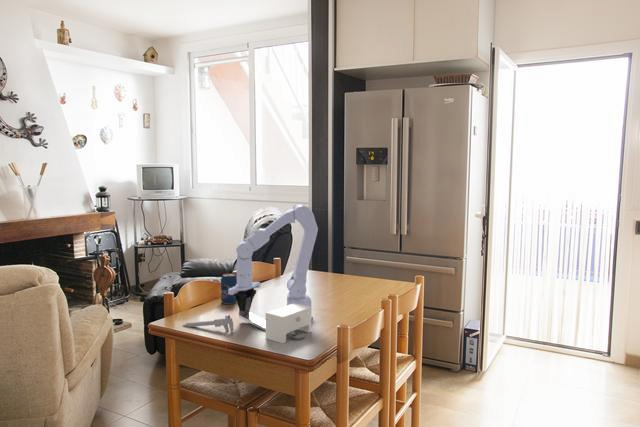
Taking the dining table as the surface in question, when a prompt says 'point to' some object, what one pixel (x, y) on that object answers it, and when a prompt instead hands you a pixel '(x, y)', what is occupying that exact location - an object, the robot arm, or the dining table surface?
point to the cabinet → (287, 321)
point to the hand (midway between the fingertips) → (244, 309)
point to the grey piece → (251, 315)
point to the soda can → (227, 283)
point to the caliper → (214, 323)
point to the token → (297, 335)
